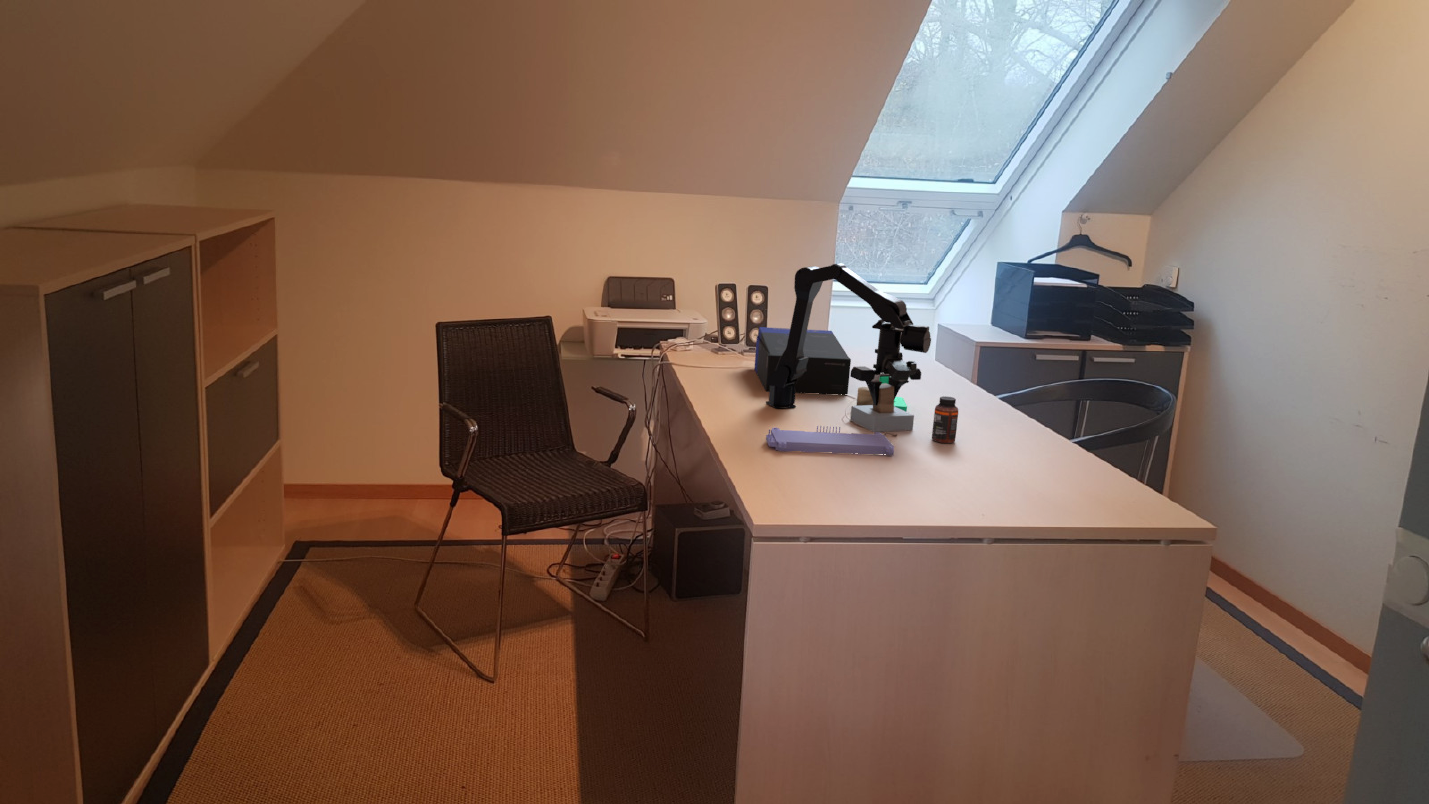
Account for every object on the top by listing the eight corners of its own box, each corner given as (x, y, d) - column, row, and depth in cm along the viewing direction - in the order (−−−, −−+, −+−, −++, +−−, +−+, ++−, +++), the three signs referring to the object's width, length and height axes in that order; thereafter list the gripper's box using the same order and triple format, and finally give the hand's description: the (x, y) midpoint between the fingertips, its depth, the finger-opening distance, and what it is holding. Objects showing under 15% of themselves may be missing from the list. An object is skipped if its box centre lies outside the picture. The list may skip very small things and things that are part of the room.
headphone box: (827, 371, 348) (831, 329, 344) (847, 396, 314) (852, 349, 310) (753, 368, 346) (756, 325, 342) (765, 392, 312) (769, 344, 308)
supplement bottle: (956, 440, 271) (961, 397, 268) (953, 445, 265) (958, 401, 263) (932, 436, 273) (937, 394, 270) (929, 441, 267) (934, 398, 264)
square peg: (872, 417, 282) (872, 385, 279) (885, 415, 283) (885, 383, 281) (881, 421, 278) (881, 388, 276) (893, 419, 280) (894, 386, 277)
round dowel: (862, 412, 293) (864, 391, 292) (852, 407, 298) (854, 387, 297) (879, 412, 296) (881, 391, 294) (869, 407, 301) (871, 386, 299)
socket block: (873, 432, 273) (875, 417, 272) (850, 420, 284) (851, 405, 283) (912, 429, 278) (914, 415, 277) (888, 418, 289) (889, 404, 288)
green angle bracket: (906, 416, 294) (910, 380, 291) (879, 413, 294) (882, 378, 292) (901, 406, 305) (905, 371, 303) (875, 404, 306) (879, 369, 303)
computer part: (762, 437, 262) (770, 454, 248) (764, 421, 261) (771, 437, 247) (881, 442, 265) (894, 460, 250) (882, 426, 264) (896, 442, 249)
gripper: (874, 353, 265) (868, 413, 269) (936, 352, 273) (929, 411, 276) (852, 345, 275) (846, 403, 279) (912, 344, 282) (906, 400, 286)
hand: (882, 404), depth 280 cm, fingers closed on square peg, 4 cm apart
